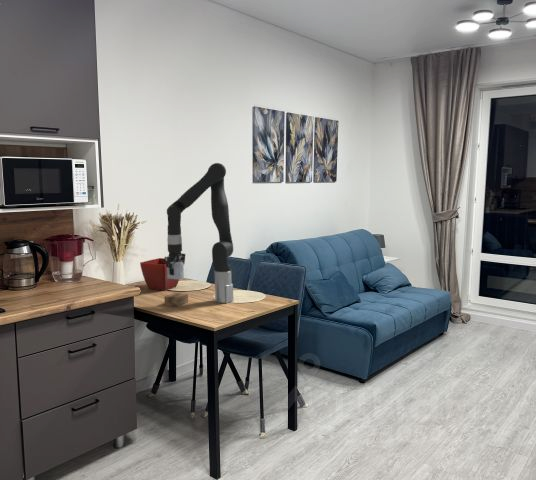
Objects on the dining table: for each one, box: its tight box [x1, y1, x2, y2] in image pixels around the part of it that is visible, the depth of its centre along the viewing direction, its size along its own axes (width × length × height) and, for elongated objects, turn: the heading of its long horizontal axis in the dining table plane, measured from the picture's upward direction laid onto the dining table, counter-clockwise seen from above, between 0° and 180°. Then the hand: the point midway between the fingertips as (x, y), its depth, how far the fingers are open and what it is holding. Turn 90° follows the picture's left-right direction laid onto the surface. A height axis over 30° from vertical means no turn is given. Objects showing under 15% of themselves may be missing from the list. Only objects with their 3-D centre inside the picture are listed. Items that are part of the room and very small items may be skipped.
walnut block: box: [163, 292, 189, 308], centre depth 264 cm, size 9×9×5 cm
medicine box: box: [167, 262, 185, 280], centre depth 262 cm, size 8×4×9 cm, turn 74°
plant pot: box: [139, 257, 183, 291], centre depth 301 cm, size 19×19×17 cm
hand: (175, 273), depth 262 cm, fingers closed on medicine box, 5 cm apart
